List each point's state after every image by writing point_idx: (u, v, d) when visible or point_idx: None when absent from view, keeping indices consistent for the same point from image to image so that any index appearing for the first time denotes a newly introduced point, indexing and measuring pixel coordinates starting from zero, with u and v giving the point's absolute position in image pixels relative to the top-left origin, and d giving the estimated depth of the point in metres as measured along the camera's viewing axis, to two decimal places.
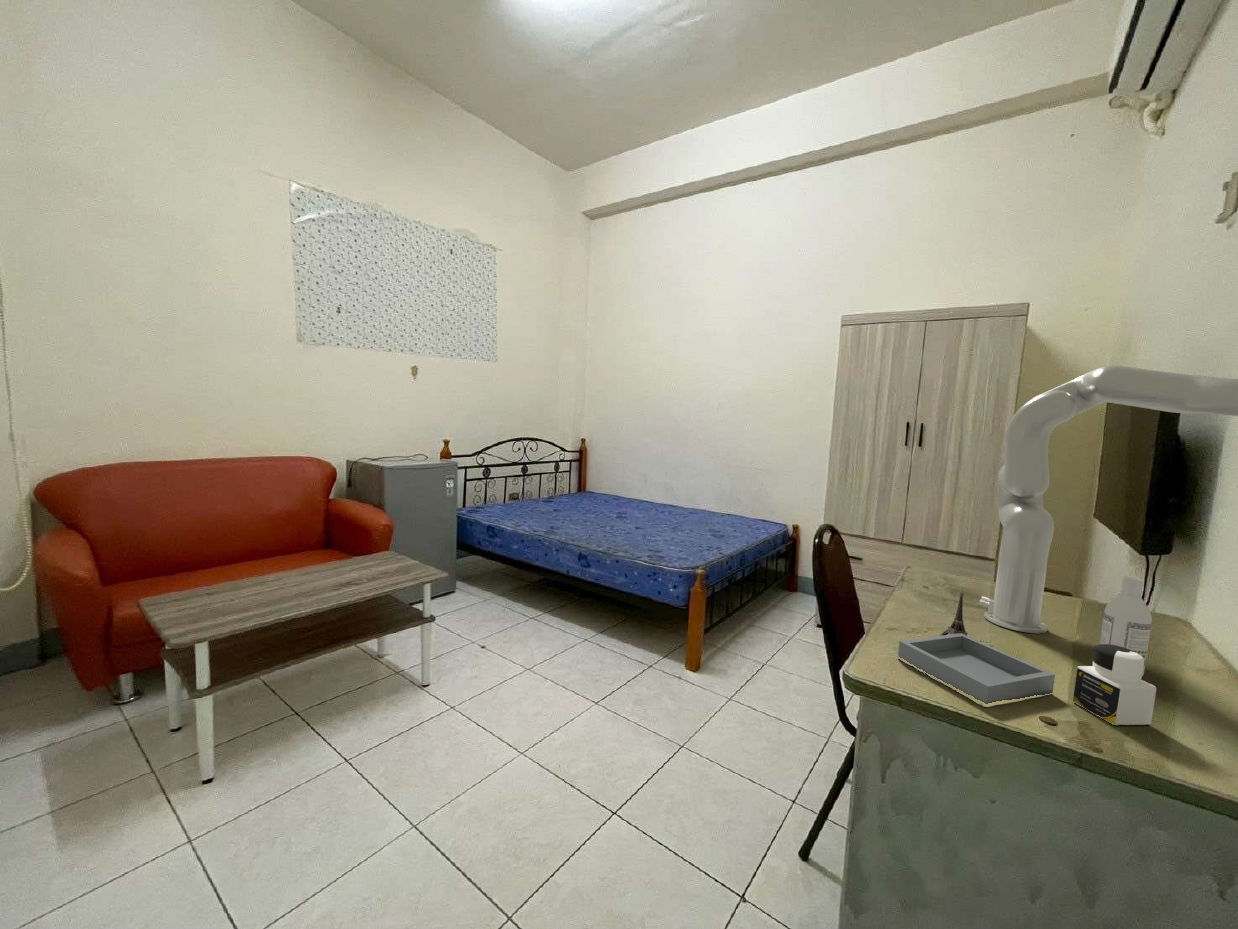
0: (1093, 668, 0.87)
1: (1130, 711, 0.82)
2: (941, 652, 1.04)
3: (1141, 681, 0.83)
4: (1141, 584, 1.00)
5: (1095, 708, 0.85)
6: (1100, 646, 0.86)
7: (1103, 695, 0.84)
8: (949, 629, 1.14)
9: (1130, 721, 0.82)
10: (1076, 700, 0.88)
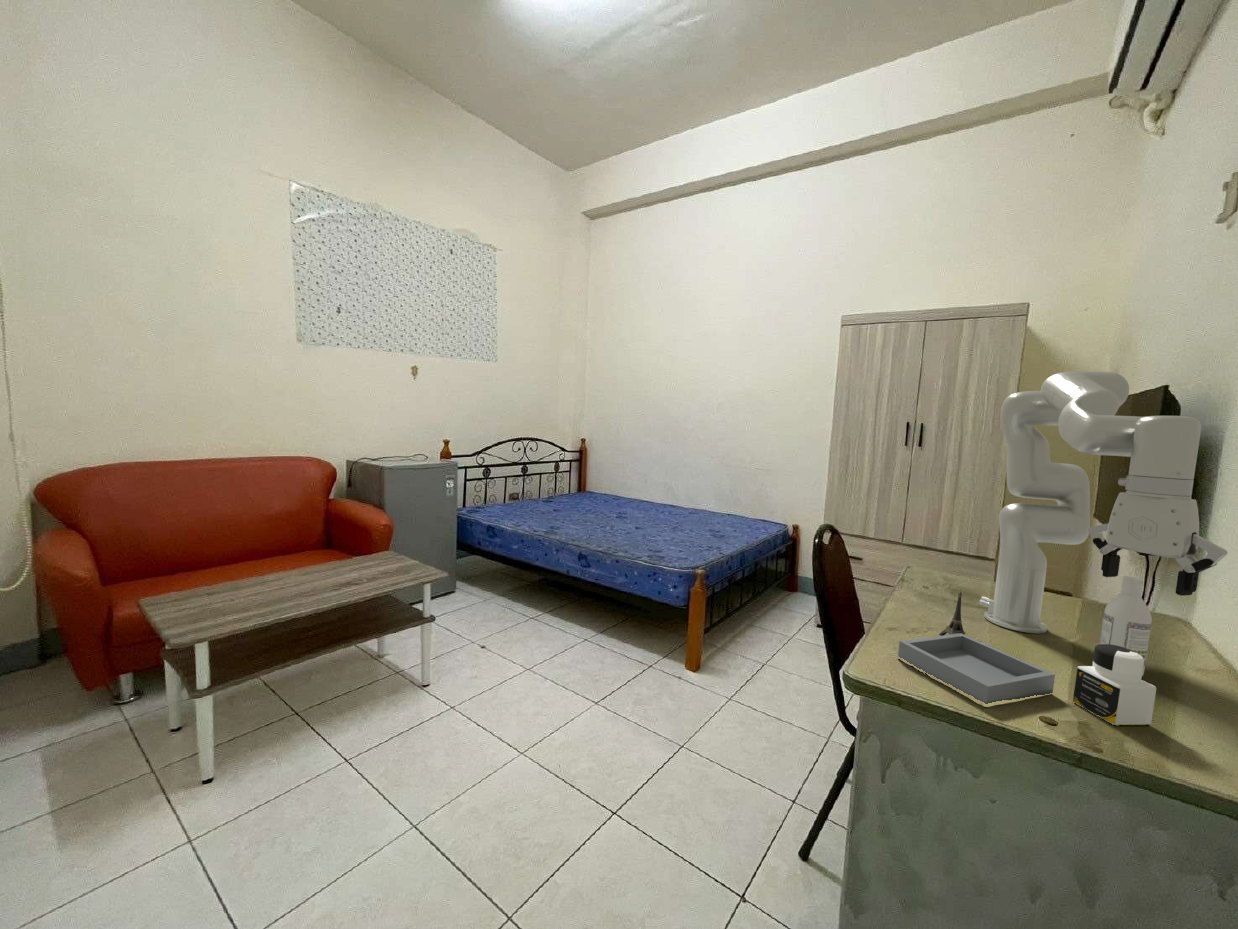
0: (1093, 668, 0.87)
1: (1130, 711, 0.82)
2: (941, 652, 1.04)
3: (1141, 681, 0.83)
4: (1141, 584, 1.00)
5: (1095, 708, 0.85)
6: (1100, 646, 0.86)
7: (1103, 695, 0.84)
8: (947, 629, 1.14)
9: (1130, 721, 0.82)
10: (1076, 700, 0.88)
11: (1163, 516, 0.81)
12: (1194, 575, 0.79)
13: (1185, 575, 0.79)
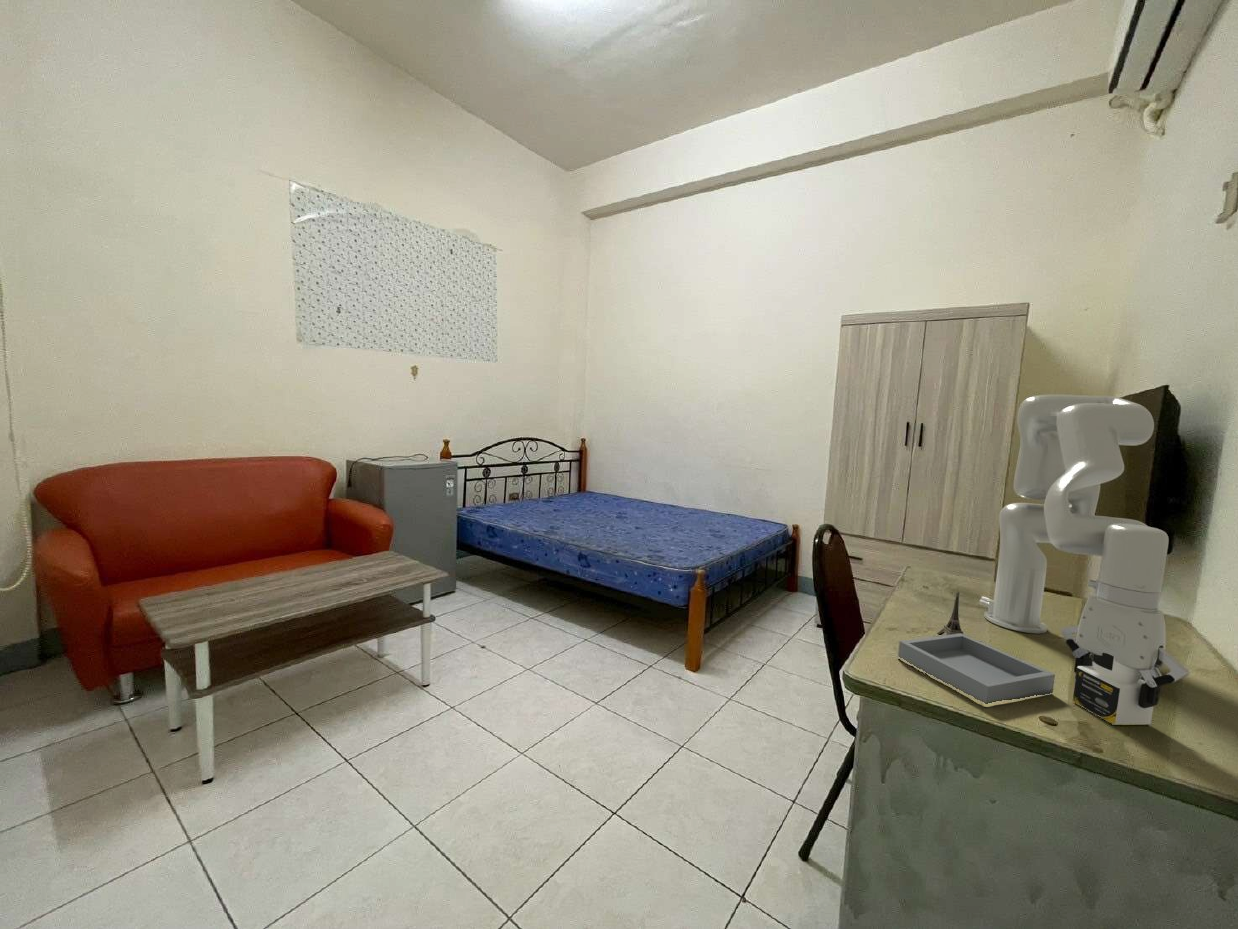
0: (1093, 668, 0.87)
1: (1130, 711, 0.82)
2: (941, 652, 1.04)
3: (1141, 681, 0.83)
4: None
5: (1095, 708, 0.85)
6: None
7: (1103, 695, 0.84)
8: (945, 628, 1.14)
9: (1130, 721, 0.82)
10: (1076, 700, 0.88)
11: (1131, 628, 0.81)
12: (1156, 689, 0.80)
13: (1147, 688, 0.80)
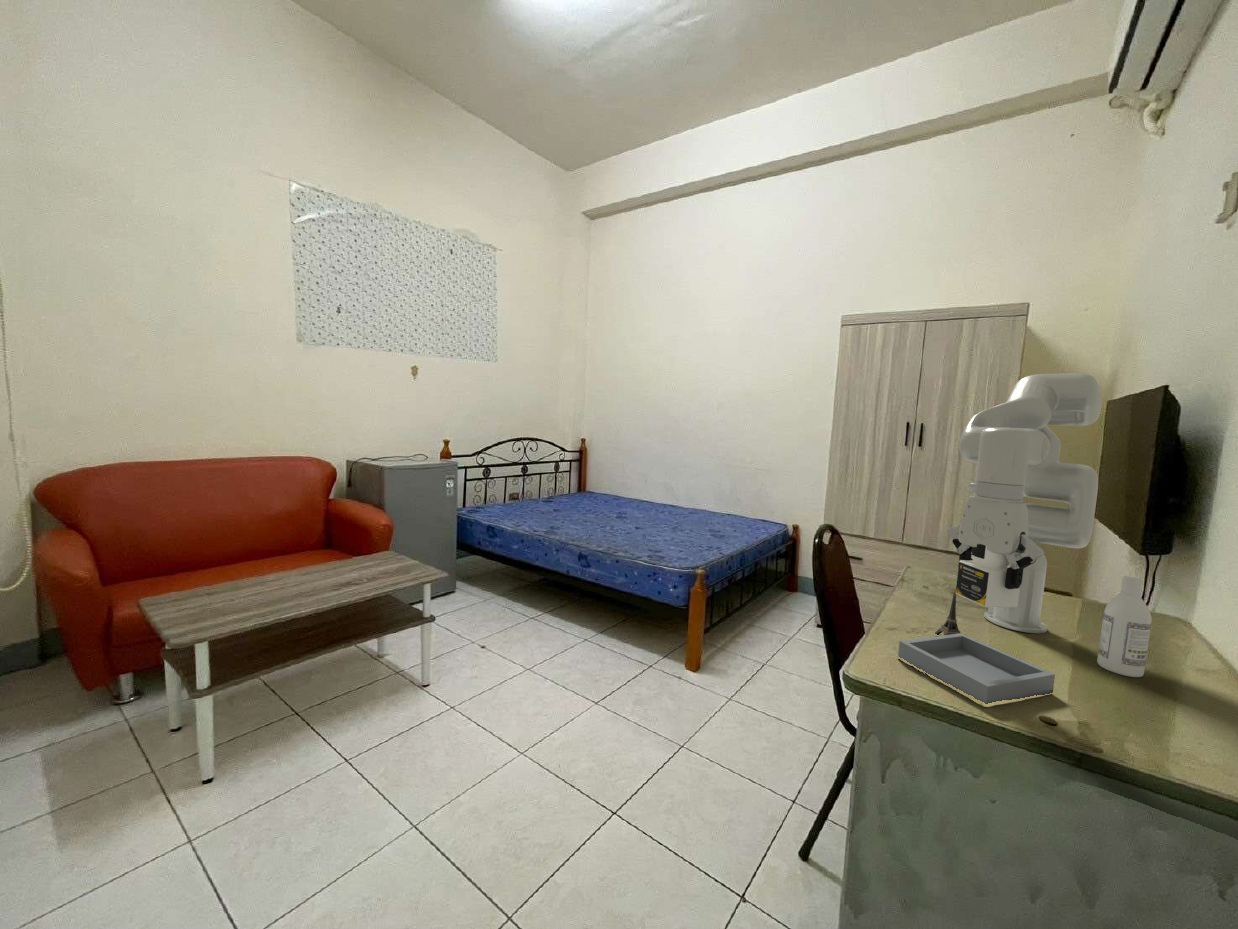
0: (972, 561, 0.96)
1: (999, 593, 0.91)
2: (941, 652, 1.04)
3: None
4: (1141, 584, 1.00)
5: (971, 594, 0.94)
6: None
7: (977, 581, 0.93)
8: (942, 628, 1.14)
9: (998, 602, 0.91)
10: (958, 590, 0.97)
11: (998, 518, 0.90)
12: (1019, 571, 0.89)
13: (1012, 571, 0.90)
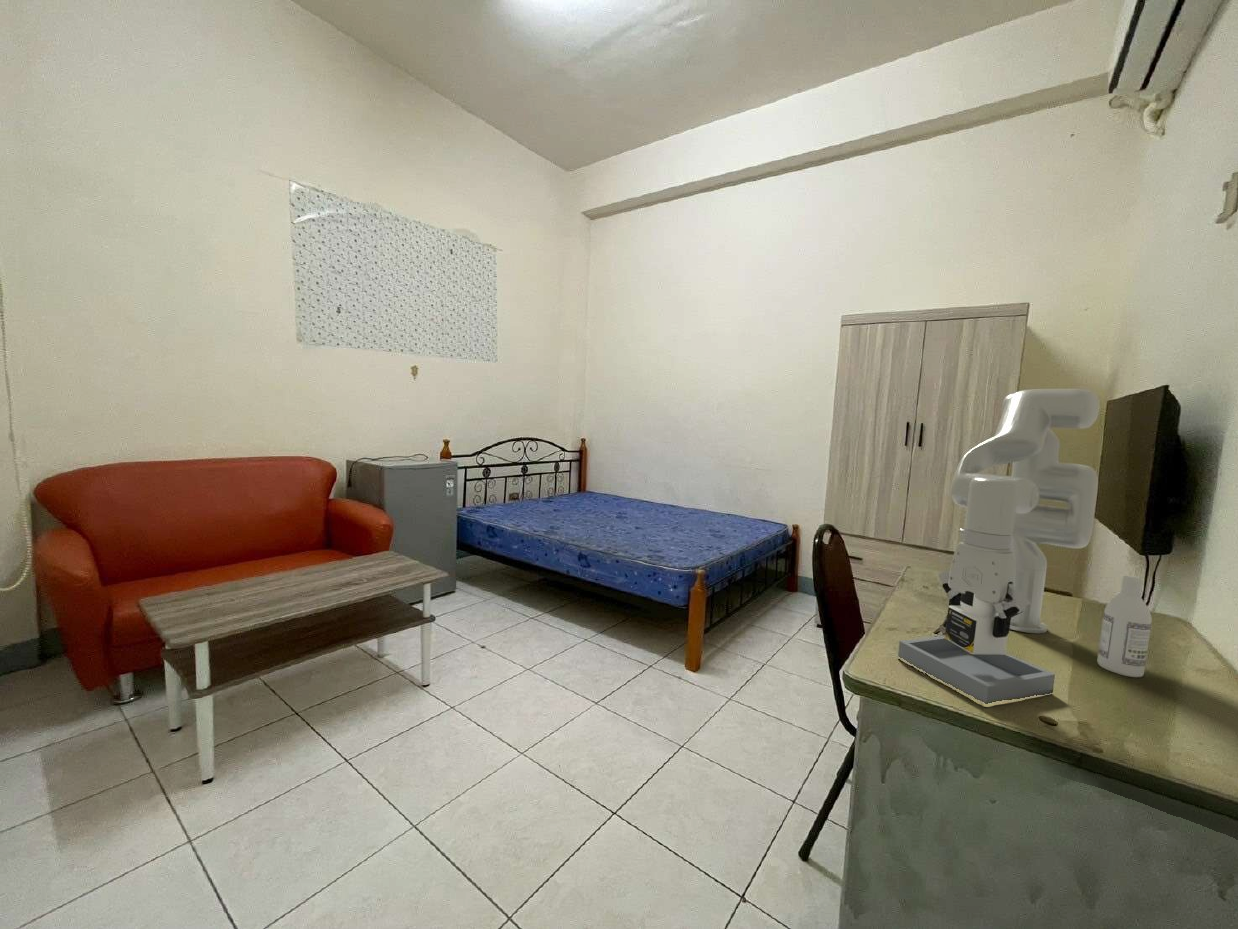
0: (961, 606, 0.98)
1: (986, 641, 0.92)
2: (941, 652, 1.04)
3: None
4: (1141, 584, 1.00)
5: (959, 640, 0.95)
6: None
7: (965, 628, 0.94)
8: (941, 627, 1.14)
9: (986, 650, 0.93)
10: (947, 635, 0.99)
11: (986, 567, 0.92)
12: (1006, 620, 0.90)
13: (999, 620, 0.91)
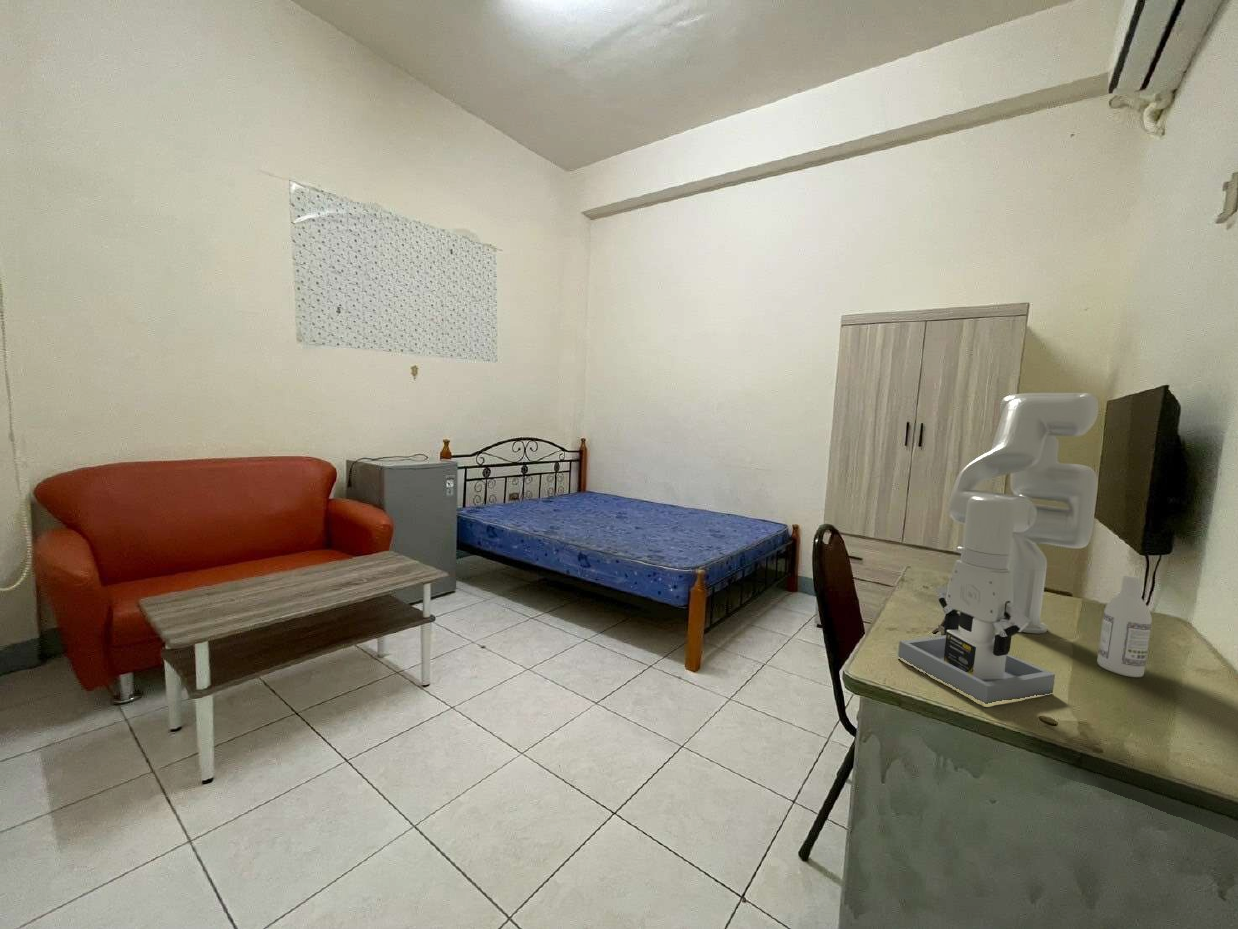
0: (959, 631, 0.98)
1: (985, 667, 0.93)
2: (941, 652, 1.04)
3: None
4: (1141, 584, 1.00)
5: (958, 666, 0.96)
6: None
7: (964, 653, 0.95)
8: (939, 627, 1.14)
9: (985, 675, 0.93)
10: (946, 660, 0.99)
11: (984, 586, 0.92)
12: (1007, 639, 0.90)
13: (1000, 638, 0.91)
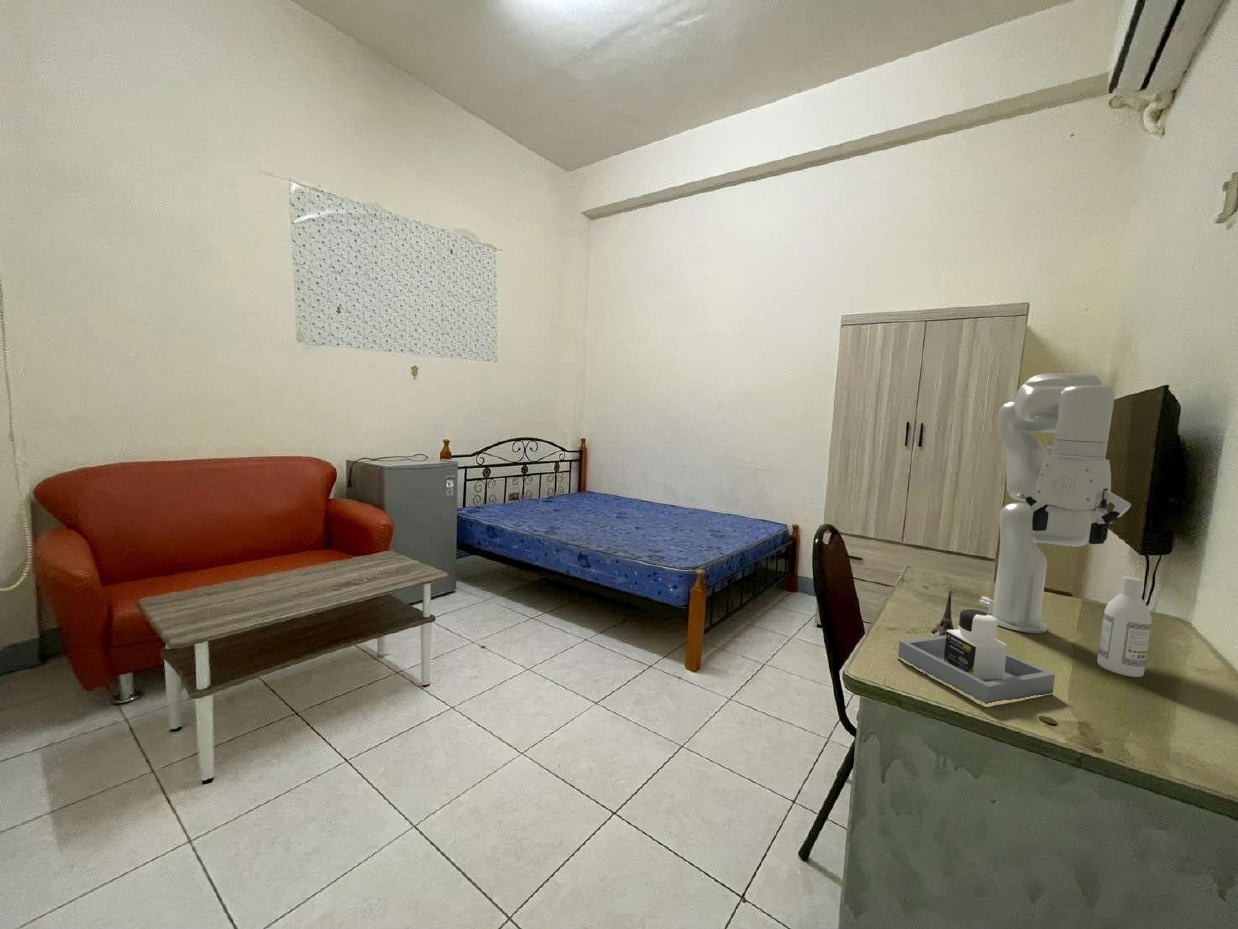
0: (959, 631, 0.98)
1: (985, 667, 0.93)
2: (941, 652, 1.04)
3: (996, 640, 0.94)
4: (1141, 584, 1.00)
5: (958, 665, 0.96)
6: (964, 611, 0.97)
7: (964, 653, 0.95)
8: (938, 627, 1.14)
9: (985, 675, 0.93)
10: (946, 660, 0.99)
11: (1079, 475, 0.91)
12: (1104, 526, 0.89)
13: (1096, 526, 0.90)
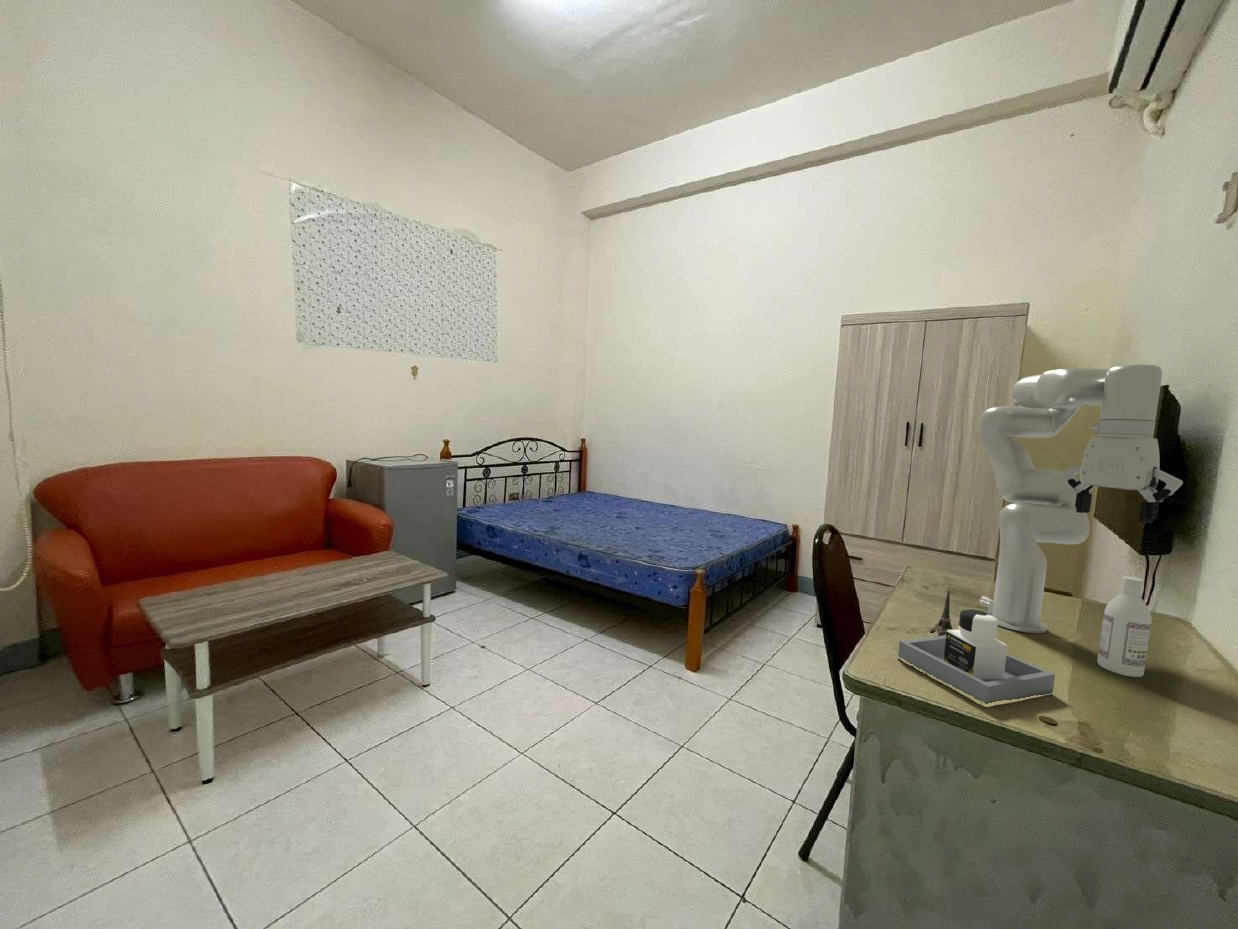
0: (959, 631, 0.98)
1: (985, 667, 0.93)
2: (941, 652, 1.04)
3: (996, 640, 0.94)
4: (1141, 584, 1.00)
5: (958, 665, 0.96)
6: (964, 611, 0.97)
7: (964, 653, 0.95)
8: (936, 627, 1.15)
9: (985, 675, 0.93)
10: (946, 660, 0.99)
11: (1128, 453, 0.91)
12: (1154, 504, 0.89)
13: (1147, 505, 0.90)
